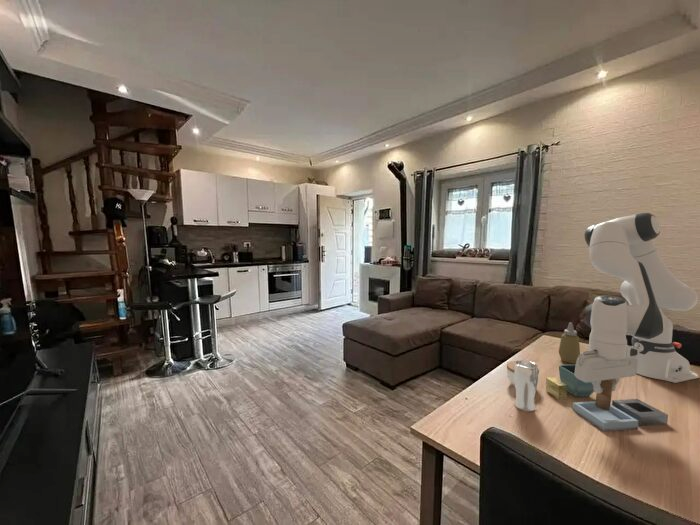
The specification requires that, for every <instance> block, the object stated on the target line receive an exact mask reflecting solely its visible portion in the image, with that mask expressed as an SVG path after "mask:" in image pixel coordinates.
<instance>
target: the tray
mask: <svg viewBox="0 0 700 525" xmlns="http://www.w3.org/2000/svg"><path fill="white" fill-rule="evenodd" d="M595 403H596V400H593V401H592V400H591V401H579V402H578V401H577V402H576V401H575V402H573V403H572V410H573V412H575V411H576V413H577V414H578V415H580V416H581V417H583V418H584V419H586V420H587V421H589V422H590V423H591V424H593V425H594V426H596V427H597V428H598V429H600V430H601V431H602V432H610V431H612V432H613V431H623V430H624V431H625V430H637V429H639V425H638V420H636V419H635V418H633V417H631V416H629V415H628V414H626V413H624V412H623V411H621V410H619V409H617V408H616V407H614V406H612V403H610V410H603V409H600V408H598V407H596V406H595Z"/></svg>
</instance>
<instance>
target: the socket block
mask: <svg viewBox="0 0 700 525" xmlns="http://www.w3.org/2000/svg"><path fill="white" fill-rule="evenodd" d="M611 405H612V406H614V407H616V408H617V409H619V410H621V411H623V412H624V413H626V414H628V415H629V416H631V417H633V418H635V419H636V420H638V427H645V426H647V427H648V426H657V425H659V426H660V425H661V426H662V425H668V421H669V420H668V419H669V414H667V413H665V412H663V411H661V410H660V409H658V408H656V407H654V406H652V405H650V404H648V403H646V402H644V401H642V400H641V399H639V398H628V399H615V400H614V399H613V400H612V399H611Z"/></svg>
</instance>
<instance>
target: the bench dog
mask: <svg viewBox="0 0 700 525" xmlns="http://www.w3.org/2000/svg"><path fill="white" fill-rule="evenodd" d="M545 391H546V392H547V393H549V394H550V395H552V397H554V398H556V399H557V400H563V399H567V385H566V384H564V383H563V382H561V380H560V379H557V378H556V377H553V376H551V377H550V376H549V377H546V378H545Z"/></svg>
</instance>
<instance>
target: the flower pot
mask: <svg viewBox="0 0 700 525" xmlns="http://www.w3.org/2000/svg"><path fill="white" fill-rule="evenodd" d="M575 366H576V364H559V365H558V372H559V373H558V375H559V381H561V382H563V383H564V384H566V385H567V391H568V392H569V393H571V395H573V396H574V397H589V396H590V395H591V396H592V395H593V393H595V392H594V391H593V384H592V383H591V382H588V383H586V382H583V381H581V380H579V379H577V378H576V377H575V375H574V373H575Z"/></svg>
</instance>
